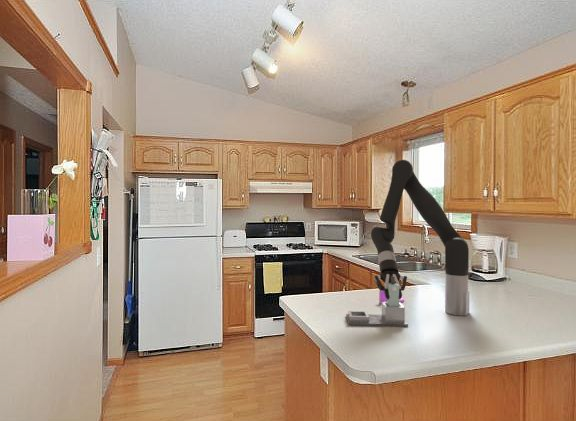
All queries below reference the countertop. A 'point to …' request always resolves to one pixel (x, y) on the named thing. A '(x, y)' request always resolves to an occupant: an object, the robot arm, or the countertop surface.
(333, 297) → the countertop surface
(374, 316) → the dark gray base plate
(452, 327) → the countertop surface
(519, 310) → the countertop surface
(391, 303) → the grey bottle
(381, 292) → the bracket
